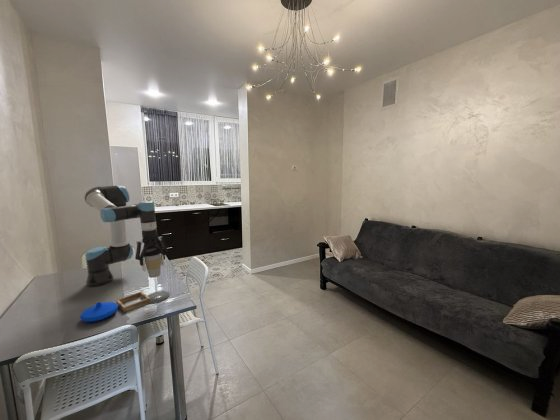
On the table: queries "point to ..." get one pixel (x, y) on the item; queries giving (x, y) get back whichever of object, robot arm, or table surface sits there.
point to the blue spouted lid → (99, 311)
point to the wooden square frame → (135, 305)
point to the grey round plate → (158, 296)
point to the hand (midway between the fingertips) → (153, 267)
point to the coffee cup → (153, 262)
